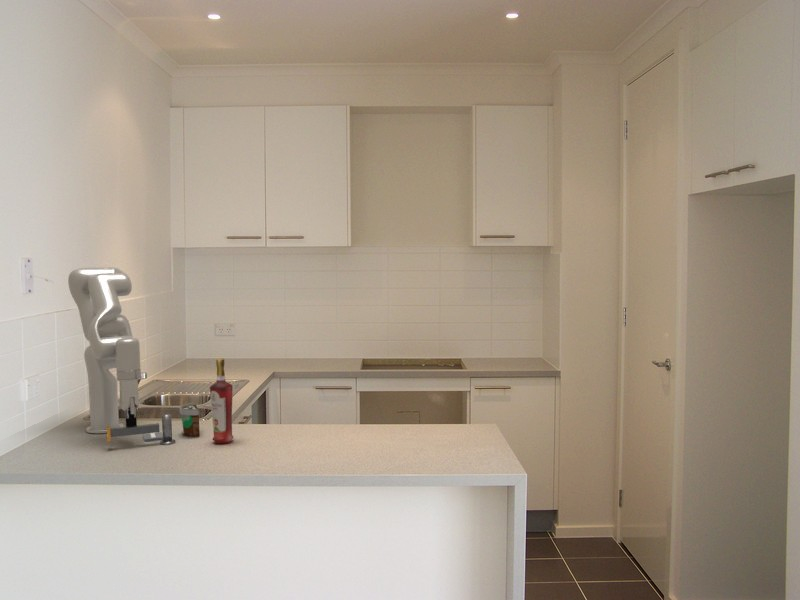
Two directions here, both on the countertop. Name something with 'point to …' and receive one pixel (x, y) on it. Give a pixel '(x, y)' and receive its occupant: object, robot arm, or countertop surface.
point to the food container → (190, 420)
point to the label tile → (152, 437)
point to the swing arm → (131, 430)
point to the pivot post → (167, 430)
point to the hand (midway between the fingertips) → (131, 429)
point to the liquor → (221, 406)
